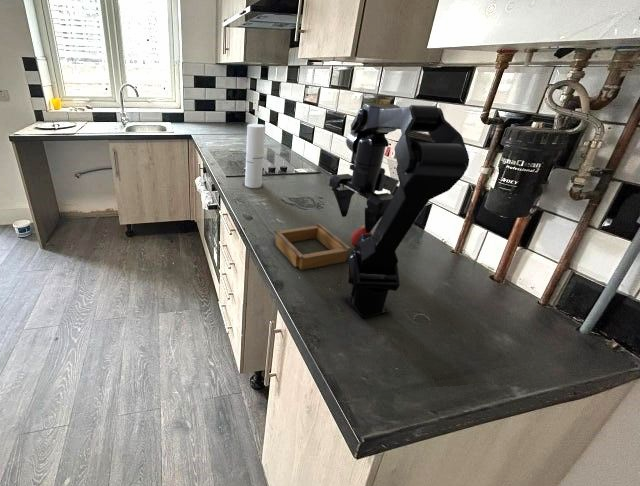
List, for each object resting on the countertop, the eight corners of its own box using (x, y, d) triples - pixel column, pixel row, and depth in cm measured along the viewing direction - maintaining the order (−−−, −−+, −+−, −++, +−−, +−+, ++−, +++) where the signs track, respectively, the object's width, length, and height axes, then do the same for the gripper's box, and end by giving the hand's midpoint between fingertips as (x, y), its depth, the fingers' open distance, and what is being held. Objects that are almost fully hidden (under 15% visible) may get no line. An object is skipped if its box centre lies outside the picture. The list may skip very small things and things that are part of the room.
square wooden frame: (348, 261, 86) (351, 247, 84) (298, 270, 81) (300, 256, 80) (317, 235, 99) (319, 223, 97) (273, 241, 94) (274, 229, 92)
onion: (371, 249, 92) (378, 224, 89) (367, 258, 88) (374, 232, 84) (351, 243, 95) (356, 219, 91) (346, 252, 90) (351, 227, 87)
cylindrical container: (261, 188, 135) (265, 127, 124) (244, 187, 135) (247, 126, 124) (261, 182, 141) (264, 124, 130) (245, 182, 141) (247, 123, 130)
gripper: (429, 171, 67) (410, 237, 74) (369, 150, 83) (358, 206, 90) (386, 176, 64) (370, 244, 70) (332, 153, 79) (323, 210, 86)
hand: (355, 224), depth 79 cm, fingers open, 9 cm apart
